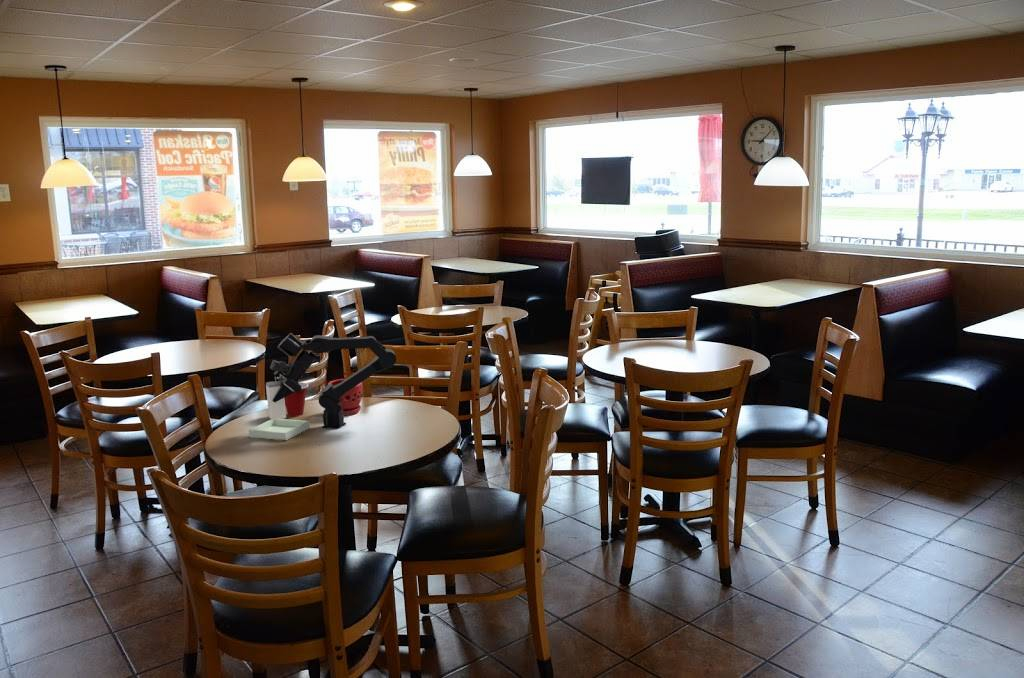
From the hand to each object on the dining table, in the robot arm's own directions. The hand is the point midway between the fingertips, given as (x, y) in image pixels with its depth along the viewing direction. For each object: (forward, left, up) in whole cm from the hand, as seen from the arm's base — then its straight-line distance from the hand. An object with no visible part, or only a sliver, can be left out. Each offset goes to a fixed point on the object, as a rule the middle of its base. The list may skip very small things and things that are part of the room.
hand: (271, 399), depth 292 cm
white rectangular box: (-1, -1, -7) cm, 7 cm away
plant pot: (-11, -32, -13) cm, 36 cm away
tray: (-1, -2, -13) cm, 13 cm away
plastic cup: (+7, -25, -13) cm, 29 cm away
